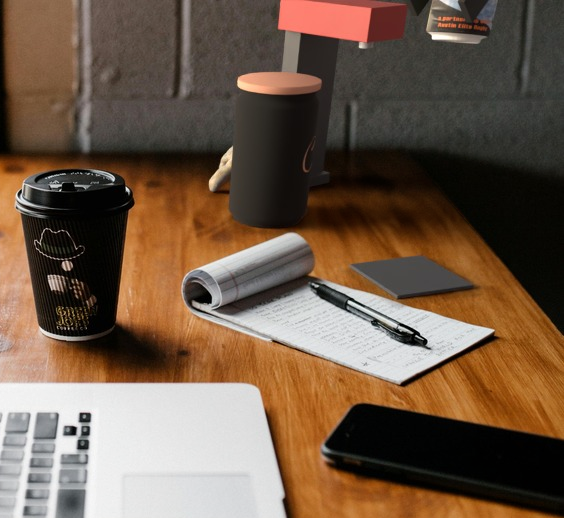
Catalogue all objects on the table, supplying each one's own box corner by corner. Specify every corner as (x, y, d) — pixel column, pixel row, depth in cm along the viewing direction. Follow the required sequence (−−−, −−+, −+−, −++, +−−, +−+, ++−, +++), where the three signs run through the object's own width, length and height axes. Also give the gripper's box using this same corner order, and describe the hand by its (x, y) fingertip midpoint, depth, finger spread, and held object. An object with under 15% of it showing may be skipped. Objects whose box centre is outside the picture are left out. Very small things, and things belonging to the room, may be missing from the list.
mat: (420, 257, 105) (421, 254, 105) (473, 288, 97) (474, 284, 97) (349, 267, 103) (349, 264, 103) (397, 298, 95) (397, 295, 95)
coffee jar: (312, 230, 114) (330, 87, 105) (231, 229, 114) (242, 86, 105) (298, 205, 123) (313, 71, 114) (224, 205, 123) (233, 71, 114)
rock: (224, 159, 145) (227, 115, 141) (255, 161, 144) (259, 117, 140) (206, 194, 128) (210, 145, 124) (241, 197, 127) (246, 148, 123)
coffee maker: (301, 173, 137) (321, -8, 124) (388, 201, 125) (421, 3, 111) (257, 183, 133) (273, -4, 119) (342, 212, 120) (371, 8, 107)
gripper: (682, -160, 79) (533, 48, 80) (502, -152, 92) (375, 26, 93) (672, -236, 74) (513, -13, 75) (483, -216, 87) (348, -27, 88)
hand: (437, 8), depth 84 cm, fingers closed on beverage can, 6 cm apart
